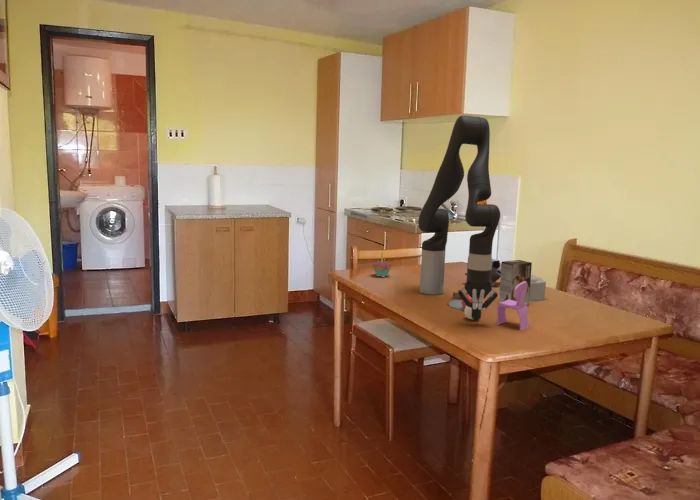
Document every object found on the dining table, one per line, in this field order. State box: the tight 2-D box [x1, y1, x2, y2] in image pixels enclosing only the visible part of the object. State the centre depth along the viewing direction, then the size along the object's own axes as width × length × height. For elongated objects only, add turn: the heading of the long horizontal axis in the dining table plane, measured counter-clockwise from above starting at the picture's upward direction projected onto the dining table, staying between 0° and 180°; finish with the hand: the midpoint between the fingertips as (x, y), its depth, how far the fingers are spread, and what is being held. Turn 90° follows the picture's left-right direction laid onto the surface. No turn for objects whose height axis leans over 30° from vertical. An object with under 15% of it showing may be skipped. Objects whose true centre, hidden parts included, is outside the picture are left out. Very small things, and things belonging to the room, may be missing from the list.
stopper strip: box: [452, 291, 478, 301], centre depth 208 cm, size 10×2×2 cm, turn 82°
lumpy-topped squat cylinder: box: [529, 274, 547, 302], centre depth 212 cm, size 10×13×9 cm
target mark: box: [447, 299, 487, 311], centre depth 199 cm, size 14×14×1 cm
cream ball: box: [463, 304, 478, 321], centre depth 182 cm, size 6×6×6 cm
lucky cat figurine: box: [464, 258, 502, 288], centre depth 232 cm, size 15×12×14 cm
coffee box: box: [498, 259, 533, 306], centre depth 200 cm, size 9×6×16 cm
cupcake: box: [371, 250, 392, 277], centre depth 243 cm, size 9×8×12 cm
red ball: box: [460, 294, 478, 308], centre depth 193 cm, size 6×6×6 cm
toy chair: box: [496, 281, 530, 331], centre depth 175 cm, size 8×9×15 cm
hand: (476, 319), depth 176 cm, fingers closed
